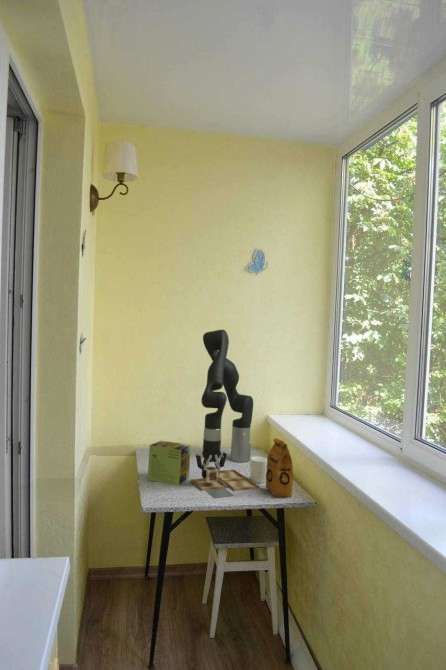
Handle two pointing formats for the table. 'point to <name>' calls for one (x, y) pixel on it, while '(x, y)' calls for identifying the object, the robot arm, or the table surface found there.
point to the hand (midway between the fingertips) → (210, 477)
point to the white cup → (258, 469)
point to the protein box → (169, 462)
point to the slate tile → (219, 493)
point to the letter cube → (211, 474)
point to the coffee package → (279, 470)
